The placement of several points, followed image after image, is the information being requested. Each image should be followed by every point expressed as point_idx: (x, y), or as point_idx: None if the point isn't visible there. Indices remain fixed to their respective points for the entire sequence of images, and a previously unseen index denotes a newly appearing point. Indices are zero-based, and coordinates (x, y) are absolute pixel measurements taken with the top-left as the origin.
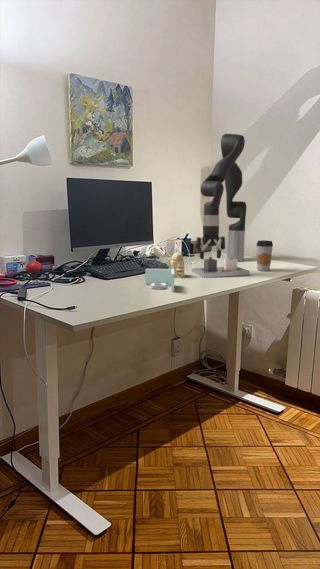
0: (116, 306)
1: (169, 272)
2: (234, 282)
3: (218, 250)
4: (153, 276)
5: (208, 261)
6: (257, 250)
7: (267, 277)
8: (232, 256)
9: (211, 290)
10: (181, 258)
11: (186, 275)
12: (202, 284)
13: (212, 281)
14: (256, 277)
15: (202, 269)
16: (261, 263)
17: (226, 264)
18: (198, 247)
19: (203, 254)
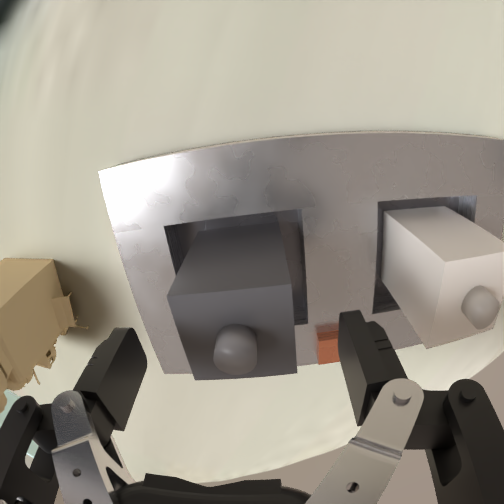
0: (30, 463)
1: (36, 449)
2: (299, 431)
3: (366, 414)
4: (3, 417)
5: (200, 374)
6: None
7: (491, 346)
8: (491, 322)
9: (175, 476)
10: (4, 403)
11: (73, 326)
12: (153, 433)
13: (205, 409)
14: (460, 348)
15: (184, 222)
16: None
17: (412, 279)
18: (48, 461)
19: (130, 403)
